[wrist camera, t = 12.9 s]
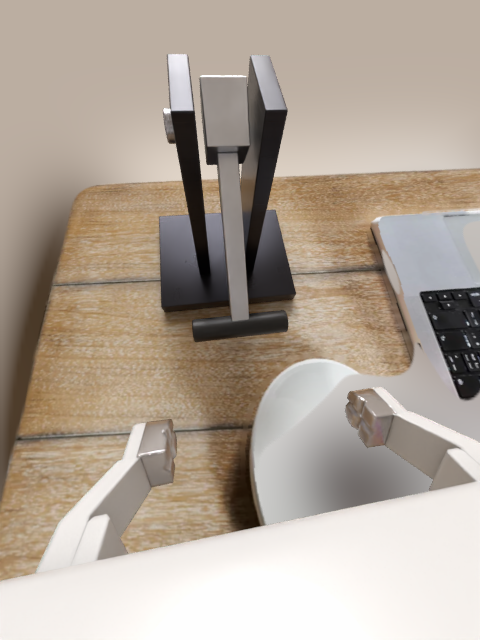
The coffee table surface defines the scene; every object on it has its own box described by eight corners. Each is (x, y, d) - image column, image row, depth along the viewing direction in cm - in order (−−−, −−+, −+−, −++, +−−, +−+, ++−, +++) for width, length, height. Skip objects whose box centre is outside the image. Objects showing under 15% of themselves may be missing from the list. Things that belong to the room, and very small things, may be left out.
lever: (279, 326, 17) (291, 337, 15) (196, 335, 16) (194, 348, 14) (273, 107, 13) (286, 75, 11) (165, 108, 13) (156, 74, 10)
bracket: (292, 299, 22) (386, 152, 9) (164, 312, 21) (70, 162, 8) (273, 218, 26) (322, 28, 13) (162, 225, 24) (92, 21, 12)
